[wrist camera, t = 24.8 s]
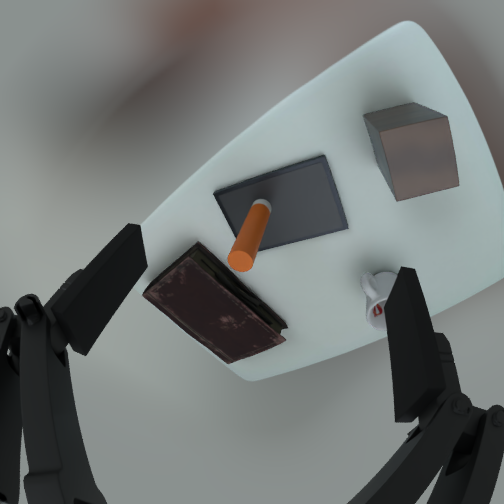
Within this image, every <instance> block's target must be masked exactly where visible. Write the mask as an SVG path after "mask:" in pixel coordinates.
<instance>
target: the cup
mask: <svg viewBox="0 0 504 504" xmlns="http://www.w3.org/2000/svg"><path fill="white" fill-rule="evenodd" d="M396 278H397V274H395V273H393V272H381V273H378V274H376V275H375V276H372V275H371V274H370V273H368V272H366V273H364V274H363V275H362V276H361V286H362V289H363V290H364V292H365V293H366V294H367V300H366V319H367V322H368V323H369V325H370V326H371V327H373V328H375V329H377V330H381V331H387V327H386V320H385V314H384V306H385V303H386V301H387V299H388V297H389V294H390V292H391V290H392V287H393V285H394V283H395V280H396Z"/></svg>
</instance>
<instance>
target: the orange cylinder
mask: <svg viewBox="0 0 504 504" xmlns="http://www.w3.org/2000/svg"><path fill="white" fill-rule="evenodd" d="M271 210H272V208H271V205H270V203H269V202H268V201H267V200H264V199H258V200H256V201H254V203H253V205H252V207H251V209H250V211H249V213H248V215H247V217H246V219H245V221H244V223H243V226H242V228H241V230H240V232H239V234H238V236H237V238H236V240H235V243H234V245H233V247H232V249H231V251H230V253H229V255H228V263H229V265H230V266H231V267H232V268H233V269H234V270H236V271H239V272H245V271H248V270H250V269H251V268H252V266H253V263H254V260H255V257H256V254H257V251H258V248H259V245H260V243H261V240H262V237H263V234H264V231H265V228H266V225H267V222H268V219H269V216H270V213H271Z"/></svg>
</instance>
